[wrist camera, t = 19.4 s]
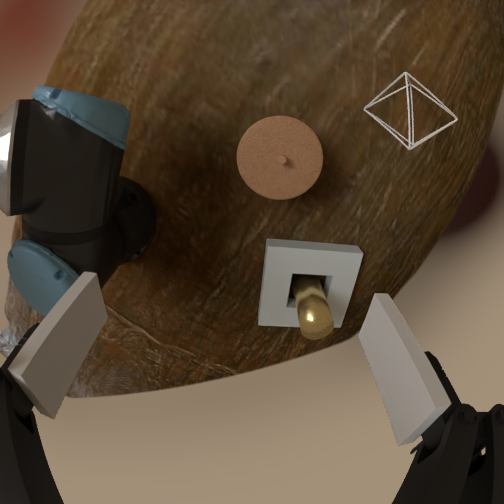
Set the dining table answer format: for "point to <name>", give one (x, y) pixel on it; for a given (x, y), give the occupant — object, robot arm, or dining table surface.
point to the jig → (306, 262)
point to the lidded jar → (279, 157)
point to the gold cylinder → (312, 307)
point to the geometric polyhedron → (409, 111)
